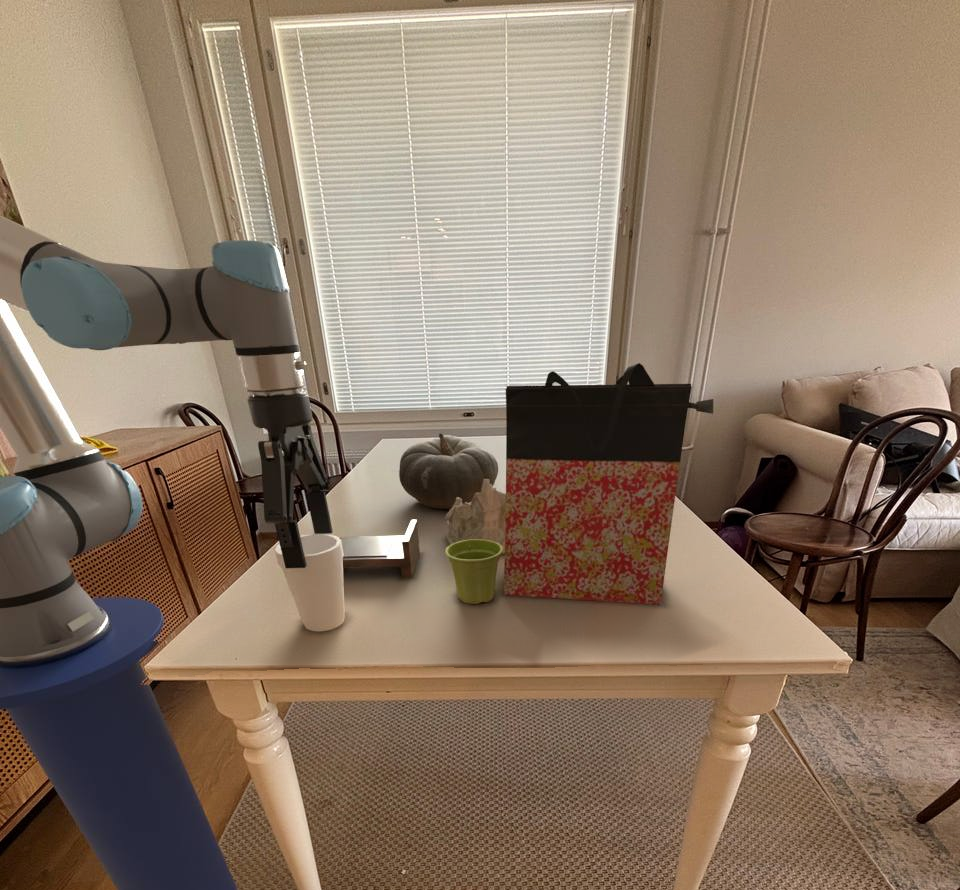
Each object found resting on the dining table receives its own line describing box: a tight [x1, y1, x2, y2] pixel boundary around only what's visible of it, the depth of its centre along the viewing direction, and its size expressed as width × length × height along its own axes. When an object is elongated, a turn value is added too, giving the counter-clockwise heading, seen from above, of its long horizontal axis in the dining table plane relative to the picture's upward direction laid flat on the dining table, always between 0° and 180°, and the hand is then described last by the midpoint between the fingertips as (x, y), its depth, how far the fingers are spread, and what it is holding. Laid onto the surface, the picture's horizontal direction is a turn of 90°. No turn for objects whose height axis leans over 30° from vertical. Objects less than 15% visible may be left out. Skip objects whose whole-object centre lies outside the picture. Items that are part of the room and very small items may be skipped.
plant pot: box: [444, 539, 503, 605], centre depth 89 cm, size 9×9×9 cm
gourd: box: [398, 432, 499, 510], centre depth 136 cm, size 25×25×17 cm
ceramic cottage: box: [445, 479, 506, 555], centre depth 110 cm, size 16×16×15 cm
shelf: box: [338, 519, 421, 580], centre depth 103 cm, size 16×12×7 cm
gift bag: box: [503, 362, 714, 606], centre depth 84 cm, size 29×14×35 cm, turn 78°
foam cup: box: [274, 533, 346, 632], centre depth 82 cm, size 10×9×13 cm
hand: (311, 549), depth 79 cm, fingers open, 13 cm apart
